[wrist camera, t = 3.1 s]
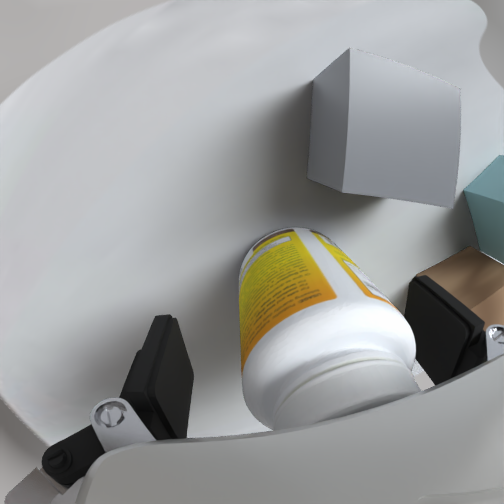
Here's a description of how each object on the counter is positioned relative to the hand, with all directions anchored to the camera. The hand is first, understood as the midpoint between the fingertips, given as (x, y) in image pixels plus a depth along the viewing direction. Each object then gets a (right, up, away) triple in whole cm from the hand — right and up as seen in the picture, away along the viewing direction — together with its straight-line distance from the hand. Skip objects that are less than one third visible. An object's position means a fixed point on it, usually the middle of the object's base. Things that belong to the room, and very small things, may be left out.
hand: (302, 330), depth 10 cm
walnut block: (+11, 0, +6) cm, 13 cm away
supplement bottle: (0, +2, +5) cm, 5 cm away
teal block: (+15, +6, +4) cm, 16 cm away
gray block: (+3, +9, +2) cm, 10 cm away
